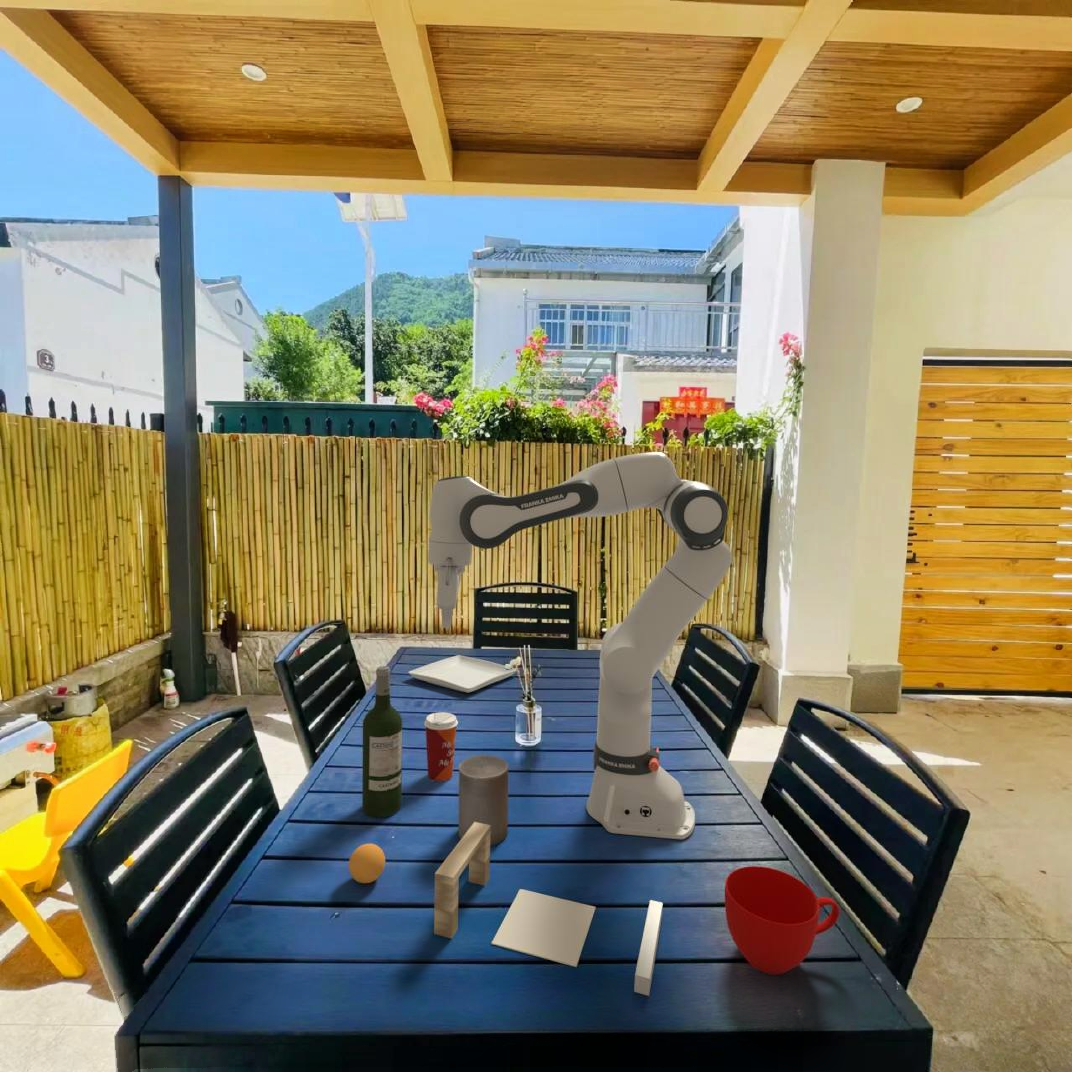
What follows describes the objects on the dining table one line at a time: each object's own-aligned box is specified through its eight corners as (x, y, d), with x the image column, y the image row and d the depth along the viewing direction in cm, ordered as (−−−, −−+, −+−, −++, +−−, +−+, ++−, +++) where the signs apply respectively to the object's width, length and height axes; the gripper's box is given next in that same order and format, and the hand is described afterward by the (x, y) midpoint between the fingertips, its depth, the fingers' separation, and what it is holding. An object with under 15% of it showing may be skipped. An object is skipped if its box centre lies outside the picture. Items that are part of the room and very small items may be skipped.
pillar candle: (504, 817, 127) (505, 747, 126) (510, 845, 117) (511, 769, 116) (456, 821, 125) (457, 749, 124) (459, 849, 116) (459, 772, 114)
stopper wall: (661, 917, 99) (662, 902, 99) (649, 995, 84) (649, 978, 84) (649, 914, 100) (650, 899, 99) (634, 991, 84) (635, 974, 84)
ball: (391, 873, 108) (392, 840, 108) (372, 894, 102) (373, 860, 102) (361, 865, 110) (362, 833, 109) (341, 886, 104) (341, 852, 104)
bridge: (489, 878, 107) (490, 825, 107) (452, 938, 93) (453, 877, 92) (473, 874, 108) (474, 821, 107) (433, 933, 94) (435, 873, 93)
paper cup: (450, 786, 139) (451, 725, 138) (418, 781, 141) (419, 722, 139) (461, 770, 147) (462, 713, 146) (430, 766, 148) (431, 709, 147)
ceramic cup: (860, 990, 86) (866, 922, 85) (742, 995, 85) (746, 926, 84) (811, 923, 99) (816, 864, 98) (708, 926, 97) (712, 866, 96)
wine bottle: (376, 822, 124) (377, 676, 121) (354, 807, 129) (355, 667, 126) (408, 808, 129) (410, 668, 127) (387, 794, 135) (388, 659, 132)
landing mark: (595, 908, 101) (595, 906, 101) (576, 967, 88) (576, 965, 88) (520, 889, 105) (520, 888, 105) (491, 944, 92) (491, 942, 92)
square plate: (469, 699, 195) (469, 687, 195) (406, 682, 210) (406, 670, 209) (518, 677, 218) (518, 667, 217) (458, 663, 232) (458, 653, 232)
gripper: (464, 562, 117) (461, 634, 118) (466, 549, 137) (463, 611, 138) (430, 561, 116) (428, 634, 117) (437, 548, 136) (435, 610, 137)
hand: (447, 621), depth 128 cm, fingers open, 8 cm apart
